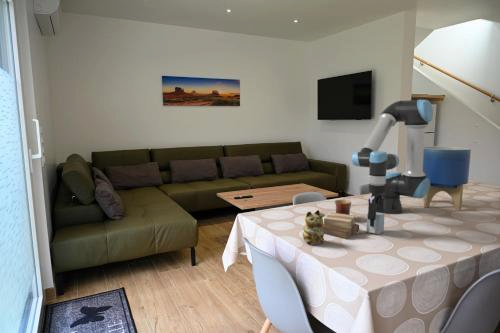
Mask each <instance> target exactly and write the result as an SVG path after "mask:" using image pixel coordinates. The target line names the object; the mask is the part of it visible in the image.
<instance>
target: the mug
mask: <svg viewBox="0 0 500 333" xmlns="http://www.w3.org/2000/svg"><path fill="white" fill-rule="evenodd" d="M334 204H335V213H340V214H347V215H351V214H350V213H351V206H352V201H351V200H347V199H336V200H335V201H334Z"/></svg>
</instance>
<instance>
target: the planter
mask: <svg viewBox="0 0 500 333" xmlns="http://www.w3.org/2000/svg"><path fill="white" fill-rule="evenodd" d="M471 151H472V149H471V148H470V147H469V148H468V147H459V146H437V145H435V146H434V145H433V146H424V163H423V172H424V173H425V174H426V178H428V179H429V180H430V187H429V190H428V193H427V194H426V196H425V197H424V198H422V200H423V201H422V202H423V208H425V207H426V208H425V209H429V208H430V205H431V202H432V200H433V198H434V197H435V196H436V194H438V193H439V192H445V193H446V194H448V195H449V196H450V197H451V200H452V205H454V204H455V205H454V210H455V211H457V212H461V211H462V205H463V196H464V195H463V192H464V185H467V184H469V175H470V166H471V165H470V163H471V153H472V152H471ZM428 207H429V208H428Z"/></svg>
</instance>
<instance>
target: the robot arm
mask: <svg viewBox="0 0 500 333" xmlns="http://www.w3.org/2000/svg"><path fill="white" fill-rule="evenodd" d="M433 108H434V107H433V105H432V103H431V101H429V100H428V99H410V100H398V101H394V102H393V103H391V104H390V105H388V106H386V108H385V109H384V110H382V111H381V113H380V114H379V117H378V122H377V123H376V125H375V127H374V128H373V130H372V131H371V134H369V137H368V138H367V140H366V141H365V143H364V145H363V146H362V148H361V149H360V151H355V152H353V153H352V155H351V163H352V165H353V166H355V167H360V168H369V172H368V174H369V175H368V192H369V193H370V194H371V196H370V198H368V209H367V214H368V219H370V226H369V232H371V233H370V234H374V233H375V232H376V220H375V217H376V212H379V213H384V214H392V215H393V214H394V215H395V214H402V212H403V205H402V202H401V196H403V197H409V198H414V199H423V198H424V197H425V196H426V194H427V193H428V190H429V187H430V180H429V179H428V178H426V174H425V173H424V172H423V163H424V147H425V136H426V135H425V133H426V131H425V130H426V128H427V127H428V126H429V123H430V122H431V121H433V116H434V109H433ZM400 122H403V123H404V127H405V128H406V129H407V130H406V132H407V133H406V162H405V163H406V164H405V171H404V172H403V173H402V172H400V171H390V172H387V171H388V170H393V169H395V168H397V167H398V166H399V164H400V158H399V156H398V155H397V154H395V153H387V151H381V150H380V148H381V146H382V145H383V143H384V140H386V137H387V135H388V134H389V132H390V131H391V129H392V127H394V126H395V125H396V124H398V123H400ZM379 150H380V151H379ZM369 232H368V233H369Z"/></svg>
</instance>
